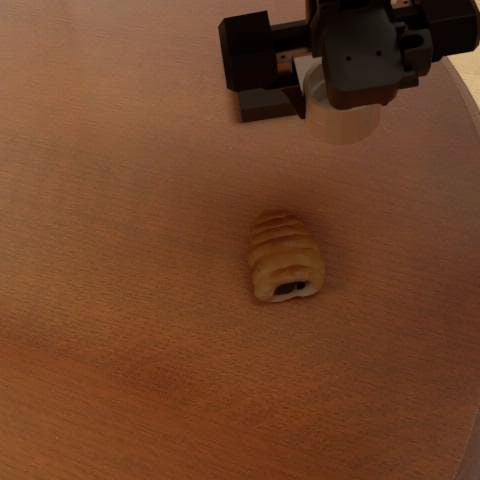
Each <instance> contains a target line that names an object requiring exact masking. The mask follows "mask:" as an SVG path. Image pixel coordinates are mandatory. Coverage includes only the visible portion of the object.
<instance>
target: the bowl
mask: <svg viewBox="0 0 480 480" xmlns="http://www.w3.org/2000/svg"><path fill="white" fill-rule="evenodd" d="M303 100H304V104H305V109H306V118H305V119H303V120H304V124H305V127H306V128H307V129H308V131H309V132H310V133H311V135H313V136H314V137H316V138H317V139H319V141H322V142H324V143H327V144H330V145H335V146H347V145H353V144H356V143H359V142H362V141H364V140H365V139H367V138H368V137H370V136H372V134H373V133H374V132H375V131H376V130H377V129H378V127H380V123H381V119H382V116H383V107H384V106H383V104H373V105H367V106H361V107H355V108H352V109H349V110H337V109H335V108H333V107H332V106H331V105H330V103H329V101H328V97H327V89H326V84H325V78H324V73H323V67H322V61H321V60H320V61H318V62H316V63H315V64H314V65H313V66H312V67H311V68H310V69H309V70H308V71H307V72H306V74H305V77H304V81H303Z"/></svg>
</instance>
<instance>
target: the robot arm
mask: <svg viewBox="0 0 480 480" xmlns="http://www.w3.org/2000/svg"><path fill="white" fill-rule="evenodd" d="M304 10H305V11H304V12H305V13H304V15H305V19H306V25H300V26H295V27H289V28H284V29H278V30H272V31H271V27H270V25H271V22H270V18H269V13H268V10H267V9H266V10H260V11H255V12H249V13H244V14H237V15H234V16H233V15H232V16H227V17H224V18H222V20H221V21H220V23H219V24H218V26H217V31H218V38H219V44H220V52H221V58H222V65H223V71H224V78H225V79H224V80H225V86H226V89H227V90H230V91H231V92H233V93H238V92H240V91H246V90H251V89H257V88H262V89H263V90H265V91H271V90H277V89H280V90H281V91H282V92H283V93H284V94H285V95H286V96H287V98H288V99H289V101H290V102H291V104H292V106H293V107H294V109H295V111H296V112H297V114H296V115H297V116H298V118H299V119H300V120H304V119H305V118H306V109H305V104H304V100H303V95H302V91H301V86H300V82H299V78H298V74H297V69H296V65H295V61H294V58H297V57H303V56H309V55H312V57H313V58H318V57H322V60H321V61H322V67H323V73H324V78H325V84H326V89H327V97H328V101H329V103H330V105H331V106H332V107H333V108H335V109H337V110H349V109H352V108H355V107H361V106H367V105H373V104H383V107H387V106H388V105H389V104H390V102H392V101H394V99H396V97H397V94H398V91H400V90H405V89H411V88H417V87H419V86H420V78H422V77H427V76H428V74H429V73H430V70H431V68H432V64H436V63H439V62H440V61H441V60H442V59H443V58H445V57H450V56H456V55H460V54H468V53H473V52H475V51H476V49H477V48H478V47H479V46H480V9H479V7H478V5H477V3H476V0H396V1H395V3H392V0H304Z"/></svg>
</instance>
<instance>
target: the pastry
mask: <svg viewBox="0 0 480 480" xmlns="http://www.w3.org/2000/svg"><path fill="white" fill-rule="evenodd" d="M246 263H247V265H248V266H249V270H250V271H249V273H250V277H251V278H250V279H251V281H252V284H253V289H254V292H253V294H254V296H255V297H256V299H257V300H258V301H260V302H265V303H271V304H272V303H282V302H284V301H287V300H291V299H293V298H295V297H309V296H313V295H316V293H318V292H319V291H320V290H321V289H322V287H323V285H324V283H325V274H326V269H327V268H326V267H327V266H326V262H325V260H324V258H323V255H322V252H321V251H320V245H319V243H318V241H317V240H316V239H315V237H314V235H313V234H312V232H311V231H310V230H309V228H308V227H307V226H306V225H304V223H302V221H300V218H299V217H298V216H297V215H296V214H295V213H294V212H292V211H291V210H289V209H288V210H287V209H285V208H278V209H277V208H276V209H275V208H274V209H267V208H266V209H263V210H261V211H260V212H259V214H258V216H256V217H255V219H254V220H253V223H252V227H251V229H250V231H249V238H248V251H247V255H246Z"/></svg>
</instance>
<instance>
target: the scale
mask: <svg viewBox="0 0 480 480" xmlns="http://www.w3.org/2000/svg"><path fill="white" fill-rule="evenodd" d="M300 25H306V18H305V19H300V20H293V21H289V22H283V23H282V22H281V23H277V24H272V25H271V24H270V27H271V31H272V30H278V29H284V28H289V27H295V26H300ZM320 60H322V57H318V58H313V57H312V55H309V56H303V57H297V58H294V61H295V65H296V69H297V74H298V78H299V82H300V86H301V91H302V95H303V81H304V77H305V74H306V72H307V71H308V70H309V69H310V68H311V67H312V66H313V65H314V64H315V63H316V62H318V61H320ZM237 96H238V105H239V112H240V118H241V119H240V120H241V123H248V122H255V121H260V120H267V119H274V118H280V117H287V116H293V115H298V114H297V112H296V111H295V109H294V107H293V106H292V104H291V102H290V101H289V99H288V98H287V96H286V95H285V94H284V93H283V92H282V91H281V90H280V89H277V90H271V91H265V90H263V89H262V88H257V89H251V90H246V91H240V92H237Z"/></svg>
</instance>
